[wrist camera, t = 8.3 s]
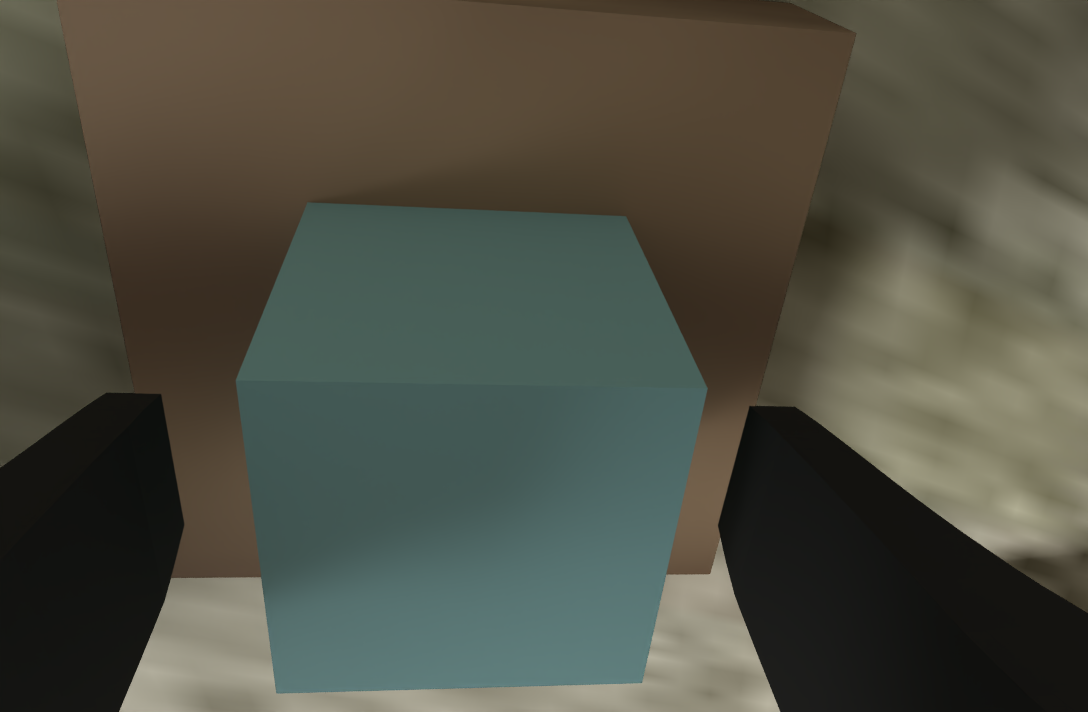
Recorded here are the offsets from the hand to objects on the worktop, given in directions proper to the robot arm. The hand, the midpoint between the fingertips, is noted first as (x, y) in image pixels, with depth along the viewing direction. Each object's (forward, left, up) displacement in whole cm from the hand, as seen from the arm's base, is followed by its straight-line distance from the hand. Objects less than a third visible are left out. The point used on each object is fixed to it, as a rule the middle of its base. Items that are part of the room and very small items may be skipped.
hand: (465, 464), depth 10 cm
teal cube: (0, 0, -3) cm, 3 cm away
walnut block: (0, 0, -5) cm, 5 cm away
